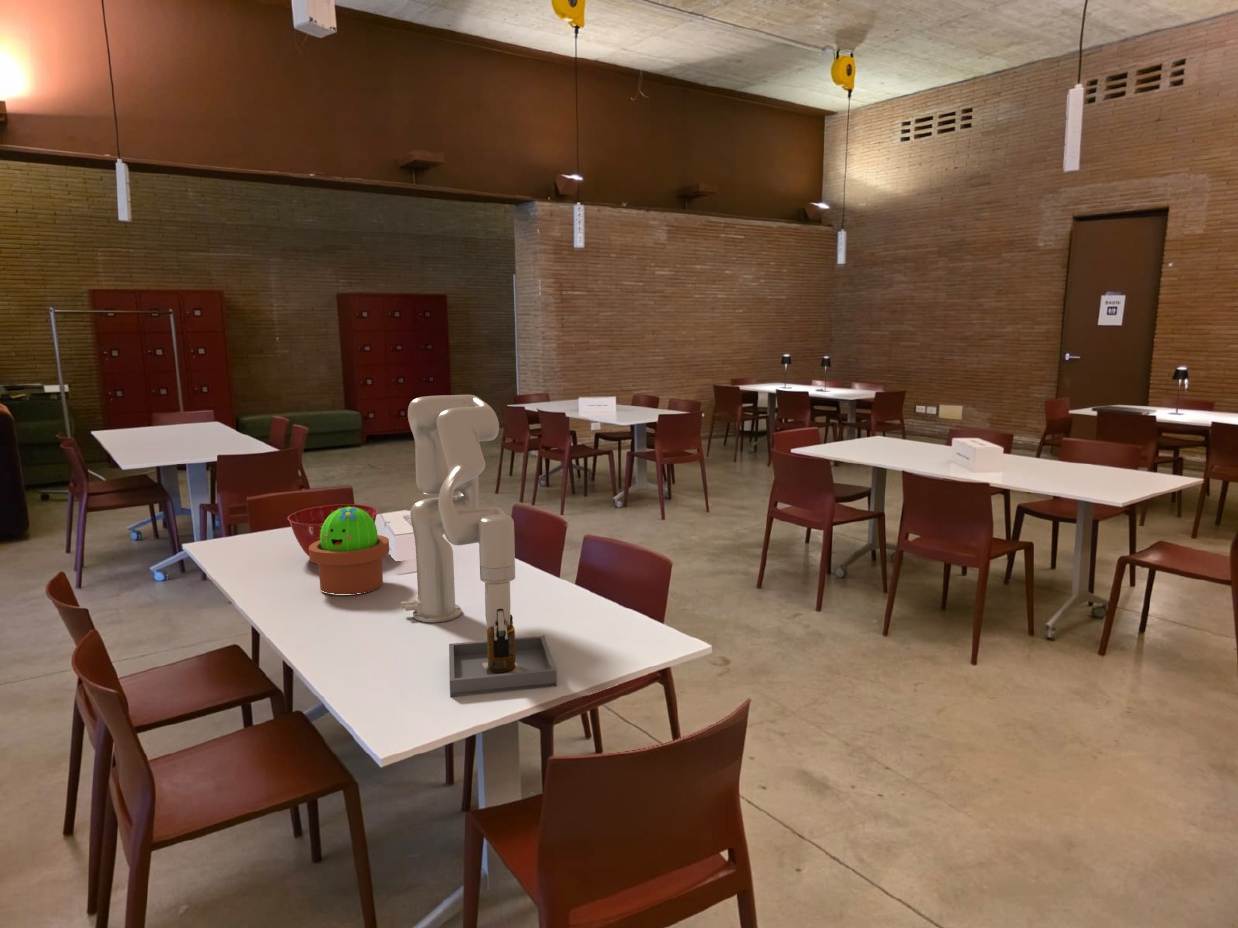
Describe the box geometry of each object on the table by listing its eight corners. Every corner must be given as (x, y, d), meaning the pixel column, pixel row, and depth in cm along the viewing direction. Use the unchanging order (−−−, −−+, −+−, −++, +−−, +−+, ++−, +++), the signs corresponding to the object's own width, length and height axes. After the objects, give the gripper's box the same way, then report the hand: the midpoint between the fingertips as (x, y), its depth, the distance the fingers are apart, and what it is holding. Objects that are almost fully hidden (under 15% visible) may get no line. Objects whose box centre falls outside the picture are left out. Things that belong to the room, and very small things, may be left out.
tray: (450, 696, 158) (449, 680, 157) (449, 658, 177) (449, 643, 176) (556, 685, 162) (556, 670, 162) (544, 649, 182) (544, 635, 181)
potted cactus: (334, 575, 240) (329, 497, 237) (401, 577, 238) (397, 498, 234) (298, 598, 219) (291, 512, 215) (372, 600, 217) (367, 514, 213)
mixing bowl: (363, 569, 246) (361, 522, 244) (275, 569, 247) (271, 522, 244) (390, 546, 274) (388, 504, 272) (311, 546, 275) (308, 504, 272)
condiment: (513, 659, 174) (512, 608, 172) (522, 674, 166) (521, 621, 164) (481, 664, 172) (480, 612, 170) (489, 679, 164) (487, 625, 162)
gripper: (478, 561, 174) (480, 636, 176) (482, 585, 157) (484, 667, 160) (511, 559, 175) (513, 633, 178) (518, 582, 158) (520, 664, 161)
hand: (500, 649), depth 169 cm, fingers open, 7 cm apart
